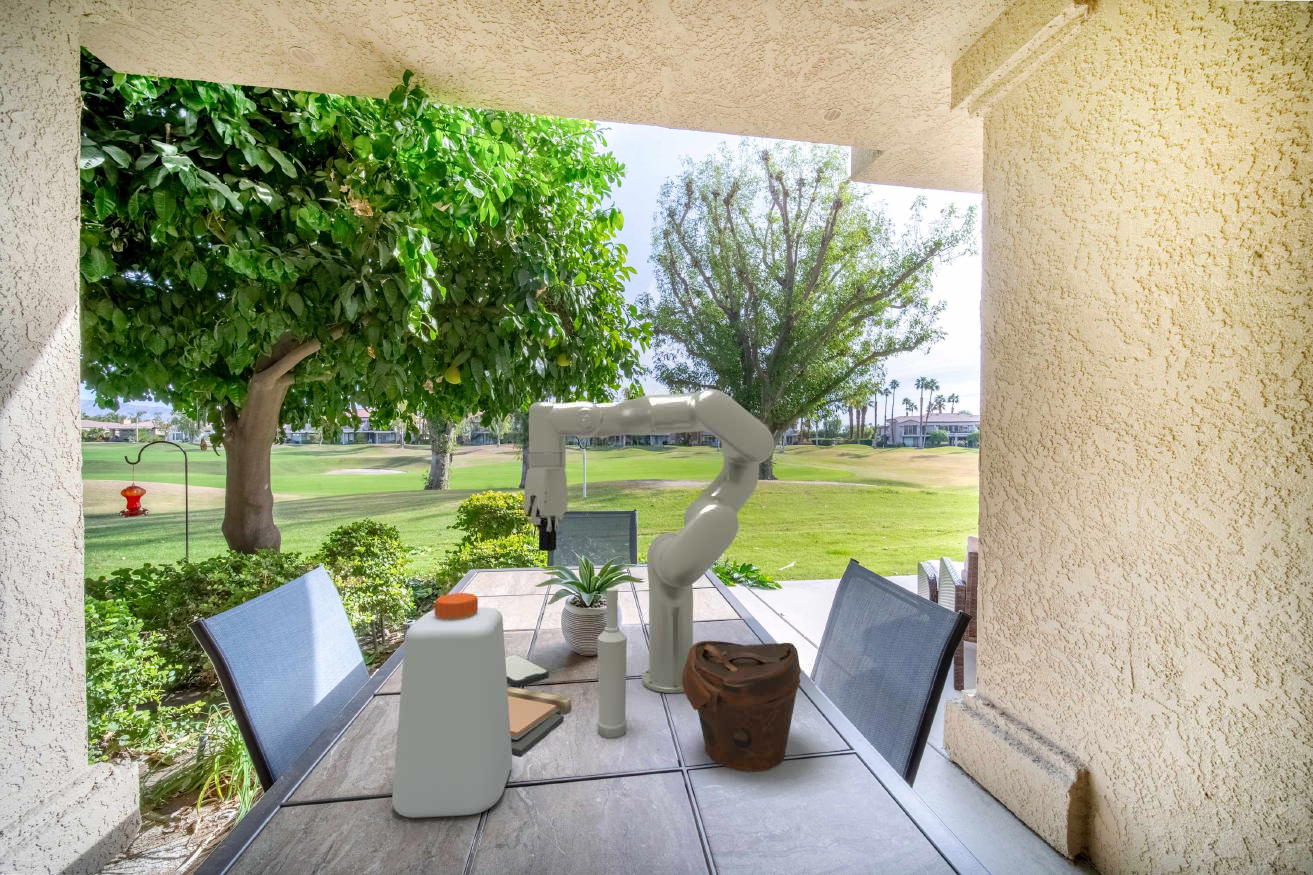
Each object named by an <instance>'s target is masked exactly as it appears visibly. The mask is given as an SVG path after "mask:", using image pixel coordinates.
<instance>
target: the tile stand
mask: <svg viewBox="0 0 1313 875" xmlns="http://www.w3.org/2000/svg"><path fill="white" fill-rule="evenodd" d="M507 690H508V696H511V697H516V698H521V699H526V700H532V701H537V702H542V703H547V704H552V705H556V713H554V714H558V715H562V714H563V715H567V714H569V712H571V711H572V698H571V697H566V696H560V695H556V694H555V695H554V694H550V693H545V692H540V691H534V690H528V689H524V688H519V687H513V686H508V685H507Z"/></svg>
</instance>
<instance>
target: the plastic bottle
mask: <svg viewBox="0 0 1313 875" xmlns="http://www.w3.org/2000/svg"><path fill="white" fill-rule="evenodd" d="M478 600H479V598H478V597H477V595H476V594H473V593H468V592H467V593H465V592H458V593H457V592H456V593H449V594H448V593H447V594H445V595H441V596H439V597H437V599H435V601H434V609H433V610H430V611H428V612H426V613H424V614H423V615H422V616H421V617H420V618H419V619H417V620H416V621H415V622H414V623H413V624H412V625H411V626H410V627H409V628H408V629H407V631H406V632H405V636H404V643H403V644H404V646H403V657H402V658H403V660H402V671H401V682H400V683H401V685H400V698H399V711H398V721H397V731H396V732H397V733H396V734H397V737H396V748H395V757H394V758H395V760H394V772H393V773H394V774H393V785H392V786H393V787H392V798H391V803H392V806H393V809H394V810H395V812H397V813H398V815H401V816H403V817H405V818H416V819H417V818H437V817H438V818H440V817H457V816H471V815H477V814H480V813H483V812H485V811H487V810H489V809H491V808H492V807H493V806H495V805H496V804H497V803H498V802H499V800H500V799H501V798H502V795H503V793H504V790H505V787H506V784H507V780H508V778H509V775H510V771H511V768H512V766H513V754H512V748H511V734H510V719H509V704H508V690H507V686H508V683H507V675H506V661H505V657H506V649H505V634H504V619H503V614H502V613H501V611H499V610H498V609H496V608H493V607H479V602H478Z"/></svg>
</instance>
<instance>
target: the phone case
mask: <svg viewBox="0 0 1313 875" xmlns="http://www.w3.org/2000/svg"><path fill="white" fill-rule="evenodd" d="M505 661H506V675H507V685H510V687H514V688H519V687H523V686H527V685H530V684H532V683H536V682H539V681H542V680H545V679H548V678H549V676H550V672H549V670H547V669H545V668H543V667H542V666H540V665H537V663H534V662H532V661H530V660H529V659H526V658H524V657H522V656H520V655H518V654H511V655H508V656H506V655H505Z"/></svg>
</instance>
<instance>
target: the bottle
mask: <svg viewBox="0 0 1313 875" xmlns="http://www.w3.org/2000/svg"><path fill="white" fill-rule="evenodd" d="M605 589H606V591H605V597H606V598H605V600H606V625H605V627H604V630H603V631H602V632H601V633H600V634H599V635H598V636H597V640H596V641H597V674H598V675H597V677H598V678H597V679H598V720H597V730H598V732H599V735H600V736H601V737H604V738H608V739H609V738H610V739H614V738H619V737H622V736H623V735H625V733H626V731H627V727H628V723H627V722H628V720H627V718H626V705H627V704H626V698H627V696H626V694H627V689H626V688H627V647H628V646H627V642H628V637H627V635H626V634H625V633H624V632H623V631H622V630H621V628H620V626H619V624H618V622H619V620H618V614H619V613H618V612H619V611H618V600H619V597H618V595H619V594H618V593H619V589H618V588H617V587H609V588H605Z"/></svg>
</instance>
